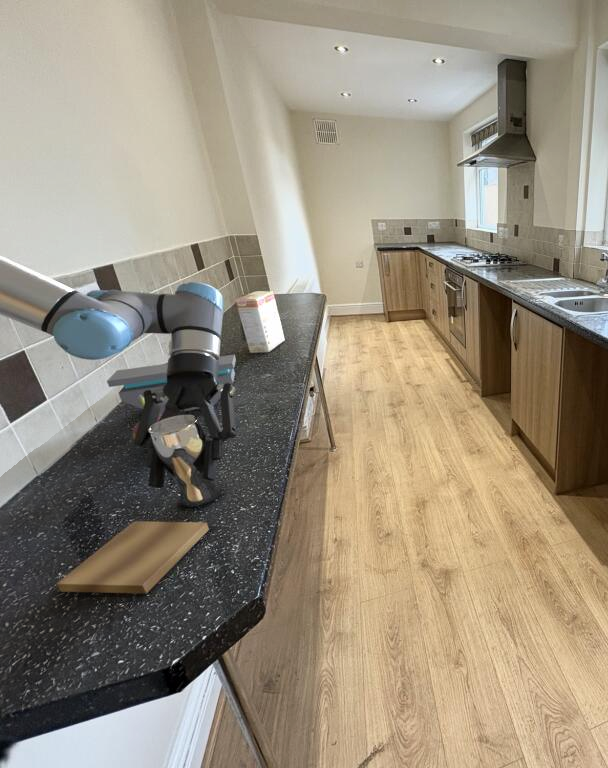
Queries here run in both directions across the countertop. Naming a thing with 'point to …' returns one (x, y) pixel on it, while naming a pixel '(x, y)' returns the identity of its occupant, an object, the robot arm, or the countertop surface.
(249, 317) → the coffeecake box
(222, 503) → the countertop surface
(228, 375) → the grey tapered box
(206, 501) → the beer glass
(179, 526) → the serving board
